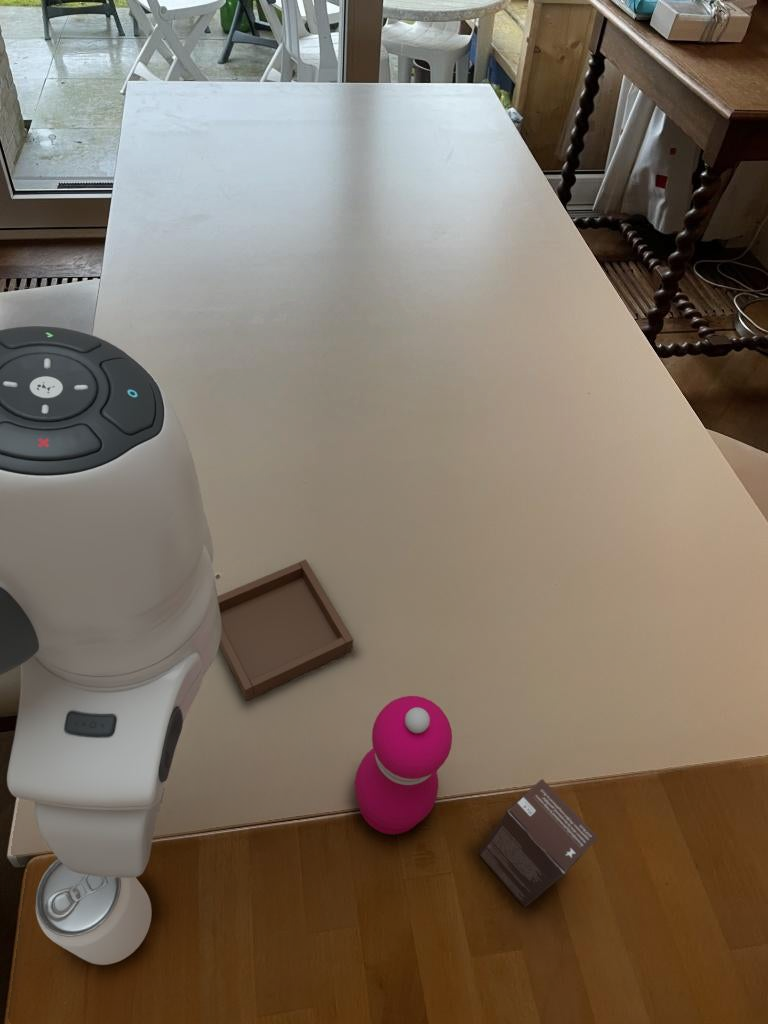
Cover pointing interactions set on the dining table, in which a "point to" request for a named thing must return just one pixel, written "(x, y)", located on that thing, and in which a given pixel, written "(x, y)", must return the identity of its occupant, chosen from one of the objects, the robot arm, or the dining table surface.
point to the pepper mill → (403, 764)
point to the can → (93, 913)
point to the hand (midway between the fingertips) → (165, 724)
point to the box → (536, 843)
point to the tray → (279, 629)
